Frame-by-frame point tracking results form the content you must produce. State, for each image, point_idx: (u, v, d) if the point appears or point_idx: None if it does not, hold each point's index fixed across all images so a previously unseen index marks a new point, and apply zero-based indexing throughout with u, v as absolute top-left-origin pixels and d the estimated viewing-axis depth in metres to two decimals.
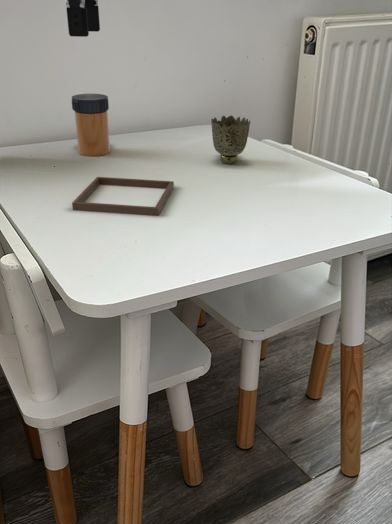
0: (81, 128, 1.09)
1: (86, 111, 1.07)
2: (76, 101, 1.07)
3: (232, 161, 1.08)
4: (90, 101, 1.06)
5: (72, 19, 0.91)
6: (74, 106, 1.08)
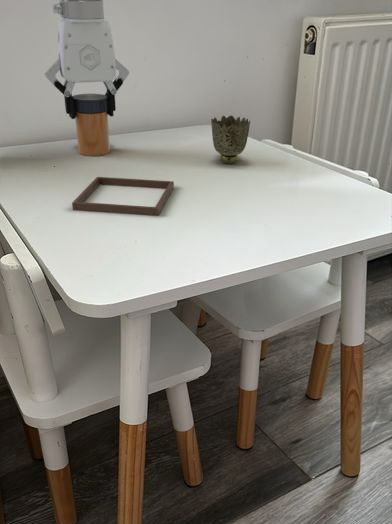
0: (81, 128, 1.09)
1: (86, 111, 1.07)
2: (76, 101, 1.07)
3: (232, 161, 1.08)
4: (90, 101, 1.06)
5: None
6: None
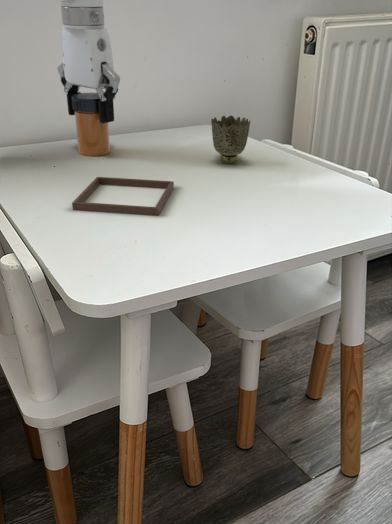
0: (81, 128, 1.09)
1: None
2: None
3: (232, 161, 1.08)
4: None
5: None
6: None
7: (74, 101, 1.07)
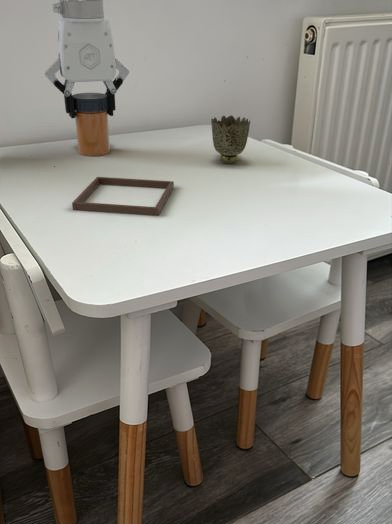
0: (81, 128, 1.09)
1: None
2: (107, 98, 1.09)
3: (232, 161, 1.08)
4: None
5: (114, 101, 1.10)
6: (106, 104, 1.09)
7: (74, 101, 1.07)
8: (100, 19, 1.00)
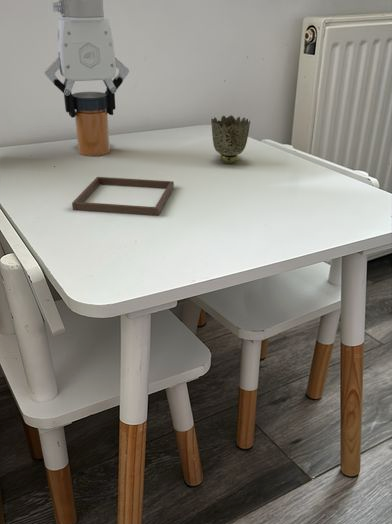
0: (81, 128, 1.09)
1: None
2: None
3: (232, 161, 1.08)
4: None
5: (114, 100, 1.10)
6: None
7: (106, 99, 1.08)
8: (100, 18, 1.00)
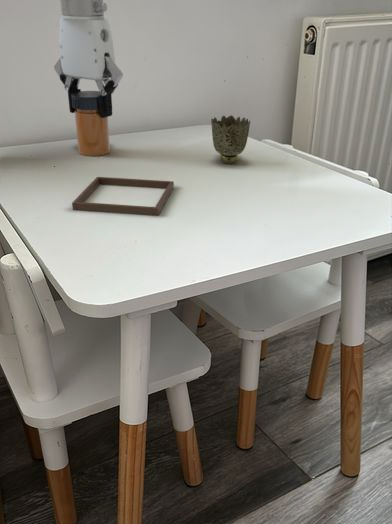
0: (81, 128, 1.09)
1: (91, 108, 1.07)
2: (79, 99, 1.06)
3: (232, 161, 1.08)
4: (95, 98, 1.06)
5: None
6: (77, 104, 1.07)
7: None
8: None
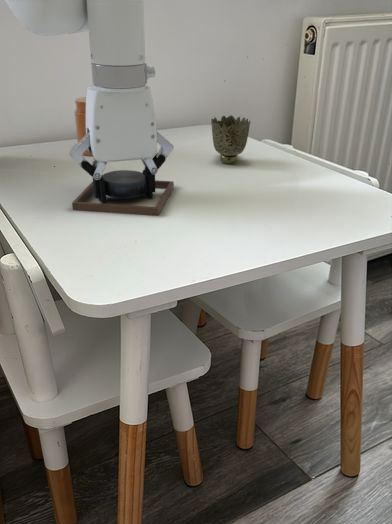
0: (81, 128, 1.09)
1: (144, 192, 0.87)
2: (133, 185, 0.85)
3: (232, 161, 1.08)
4: (145, 179, 0.87)
5: (93, 186, 0.87)
6: (129, 192, 0.85)
7: None
8: None
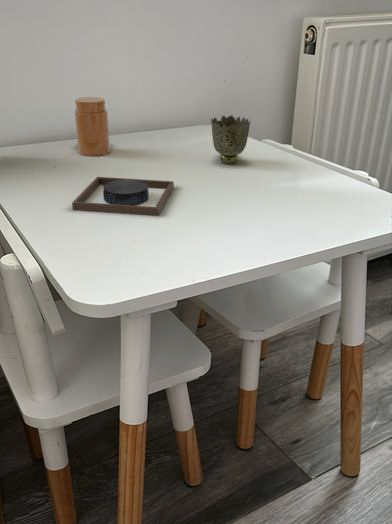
0: (81, 128, 1.09)
1: None
2: (135, 195, 0.86)
3: (232, 161, 1.08)
4: (147, 189, 0.88)
5: None
6: (130, 202, 0.86)
7: None
8: None
